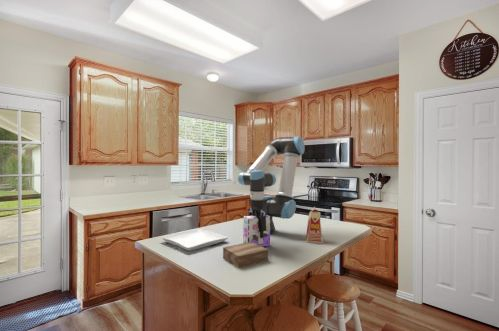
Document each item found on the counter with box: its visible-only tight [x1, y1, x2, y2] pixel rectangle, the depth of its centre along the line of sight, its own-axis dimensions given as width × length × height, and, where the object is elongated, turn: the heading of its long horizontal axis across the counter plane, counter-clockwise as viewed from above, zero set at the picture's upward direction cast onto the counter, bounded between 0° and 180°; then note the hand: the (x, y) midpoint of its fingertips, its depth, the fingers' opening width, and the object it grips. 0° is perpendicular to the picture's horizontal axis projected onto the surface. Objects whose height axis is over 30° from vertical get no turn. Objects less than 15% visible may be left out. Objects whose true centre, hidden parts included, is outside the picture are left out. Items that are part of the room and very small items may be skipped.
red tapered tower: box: [305, 206, 324, 244], centre depth 154 cm, size 9×9×20 cm
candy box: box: [242, 215, 271, 248], centre depth 142 cm, size 14×6×16 cm, turn 118°
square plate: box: [160, 228, 229, 251], centre depth 149 cm, size 27×27×4 cm
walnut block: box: [222, 242, 269, 269], centre depth 124 cm, size 14×16×5 cm
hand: (256, 241), depth 142 cm, fingers closed on candy box, 6 cm apart
